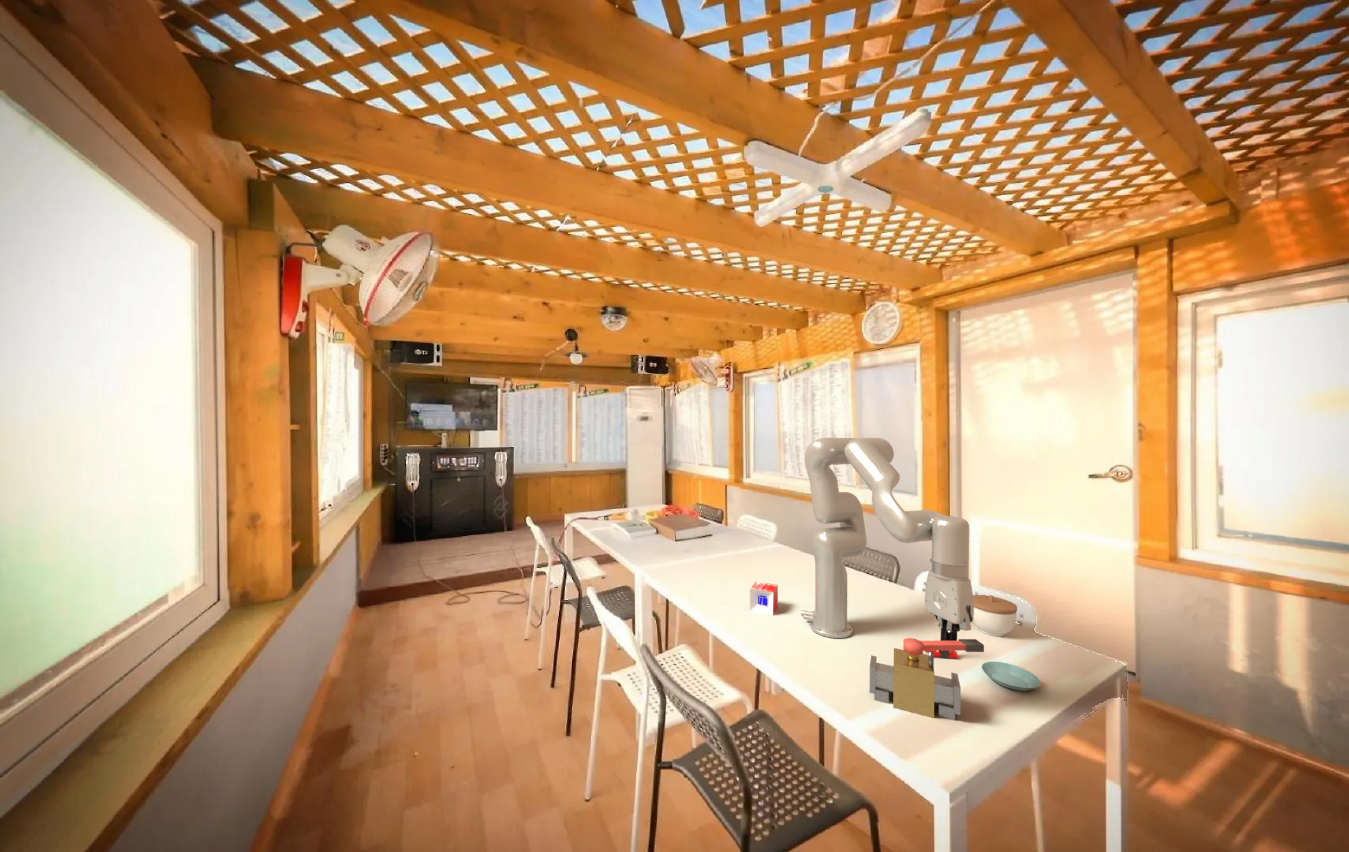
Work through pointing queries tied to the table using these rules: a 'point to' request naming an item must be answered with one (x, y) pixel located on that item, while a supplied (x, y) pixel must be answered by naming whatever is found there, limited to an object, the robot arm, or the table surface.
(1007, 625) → the lidded bowl
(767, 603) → the white and red cube
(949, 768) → the table surface
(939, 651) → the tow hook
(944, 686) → the valve body
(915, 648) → the lever
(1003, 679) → the saucer
